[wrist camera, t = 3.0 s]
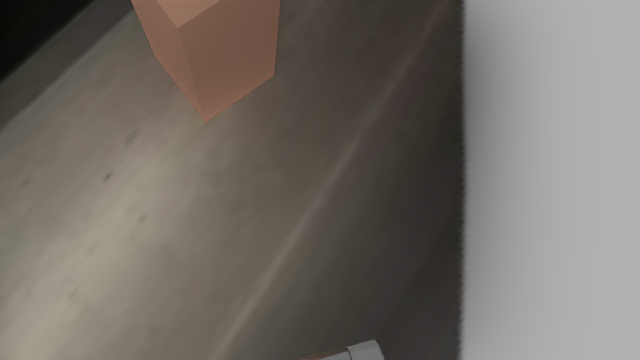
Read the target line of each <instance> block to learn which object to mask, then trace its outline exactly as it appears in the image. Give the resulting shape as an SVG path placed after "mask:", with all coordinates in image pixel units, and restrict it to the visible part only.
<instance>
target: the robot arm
mask: <svg viewBox="0 0 640 360" xmlns="http://www.w3.org/2000/svg"><path fill="white" fill-rule="evenodd" d="M296 360H385V359H384V357H383V355H382V352H381V350H380V347H379V345H378V344H377V343H376V342H375V340H371V341H367V342H363V343H359V344H356V345H352V346H348V347H346V348H345V347H341V348H337V349H333V350H330V351H326V352H322V353H319V354H315V355H311V356H307V357H304V358H300V359H296Z"/></svg>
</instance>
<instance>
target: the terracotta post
mask: <svg viewBox="0 0 640 360" xmlns="http://www.w3.org/2000/svg"><path fill="white" fill-rule="evenodd" d="M131 1H132V4H133V6H134V8H135V11H136V13H137V15H138V18H139V20H140V22H141V25H142V27H143V29H144V31H145V34H146V36H147V38H148V41H149V43H150V45H151V48H152V50H153V52H154V55H155V57H156V58H157V60H158V61H159V62H160V63H161V65H162V66H163V67H164V69H165V70H166V71H167V73H168V74H169V75H170V77H171V78H172V79H173V80H174V82H175V83H176V84H177V86H178V87H179V88H180V90H181V91H182V92H183V94H184V95H185V96H186V97H187V99H188V100H189V101H190V103H191V104H192V105H193V107H194V108H195V109H196V111H197V112H198V113H199V114H200V116H201V117H202V118H203V120H204V121H205V122H208V121H209V120H211V119H212V118H213V117H215V116H216V115H218V114H219V113H221V112H222V111H224V110H225V109H226V108H228V107H229V106H231V105H232V104H234V103H235V102H237V101H238V100H239V99H241V98H242V97H244V96H245V95H247V94H248V93H250V92H251V91H252V90H254V89H255V88H257V87H258V86H260V85H261V84H263V83H264V82H266V81H267V80H268V79H270V78H271V77H273V76H274V72H275V60H276V49H277V38H278V26H279V15H280V3H281V0H131Z"/></svg>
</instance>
